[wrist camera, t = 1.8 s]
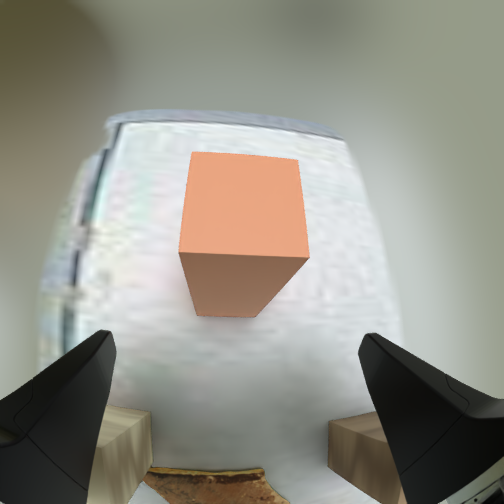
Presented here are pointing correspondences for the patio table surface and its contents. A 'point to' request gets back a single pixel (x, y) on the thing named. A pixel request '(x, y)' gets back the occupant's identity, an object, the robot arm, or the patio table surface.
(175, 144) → the patio table surface
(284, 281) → the salmon orange block
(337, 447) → the walnut block
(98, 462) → the birch block
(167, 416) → the patio table surface
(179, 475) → the shard
